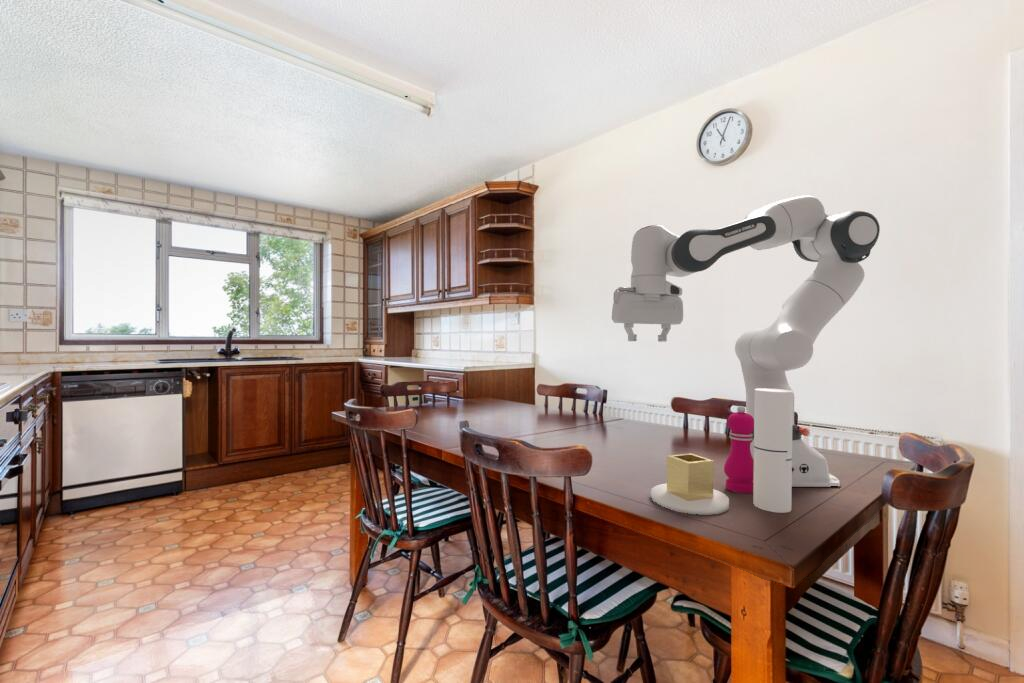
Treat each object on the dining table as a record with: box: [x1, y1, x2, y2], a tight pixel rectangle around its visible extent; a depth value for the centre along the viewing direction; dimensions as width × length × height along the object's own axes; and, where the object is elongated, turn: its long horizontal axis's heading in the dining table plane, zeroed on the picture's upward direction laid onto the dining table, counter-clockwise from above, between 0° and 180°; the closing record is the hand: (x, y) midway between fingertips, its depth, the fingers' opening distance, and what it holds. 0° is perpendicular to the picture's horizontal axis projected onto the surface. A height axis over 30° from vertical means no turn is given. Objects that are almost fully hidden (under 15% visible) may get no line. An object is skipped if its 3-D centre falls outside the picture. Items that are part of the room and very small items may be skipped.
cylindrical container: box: [752, 388, 794, 514], centre depth 99 cm, size 7×7×25 cm
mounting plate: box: [650, 482, 730, 516], centre depth 102 cm, size 16×16×8 cm
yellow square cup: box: [666, 452, 715, 501], centre depth 102 cm, size 7×7×8 cm
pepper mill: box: [723, 405, 754, 494], centre depth 110 cm, size 7×7×20 cm
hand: (647, 341), depth 121 cm, fingers open, 8 cm apart
